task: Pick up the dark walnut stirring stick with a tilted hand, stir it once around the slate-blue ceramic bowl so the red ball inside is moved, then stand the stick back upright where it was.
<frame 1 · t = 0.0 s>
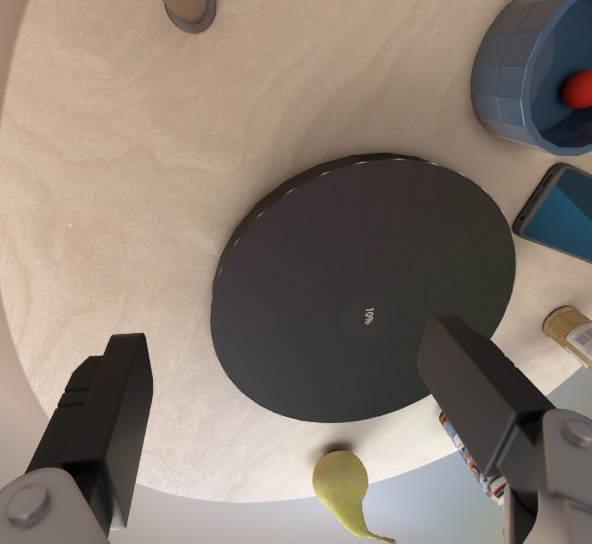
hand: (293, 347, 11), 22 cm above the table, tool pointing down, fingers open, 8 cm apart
red ball: (583, 89, 30), point 2 cm above the table, touching bowl
smartphone: (582, 218, 39), on the table
stick: (191, 4, 24), on the table
fruit: (334, 453, 51), on the table
spice jar: (558, 319, 46), on the table
bowl: (536, 68, 30), on the table
disc: (359, 299, 39), on the table
beverage can: (457, 404, 50), on the table
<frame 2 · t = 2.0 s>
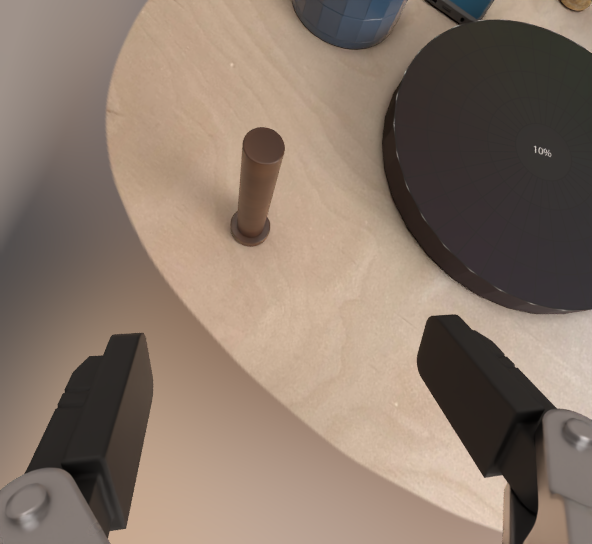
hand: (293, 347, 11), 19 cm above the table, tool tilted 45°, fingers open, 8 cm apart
stick: (249, 228, 31), on the table
bowl: (344, 4, 39), on the table
disc: (519, 167, 38), on the table
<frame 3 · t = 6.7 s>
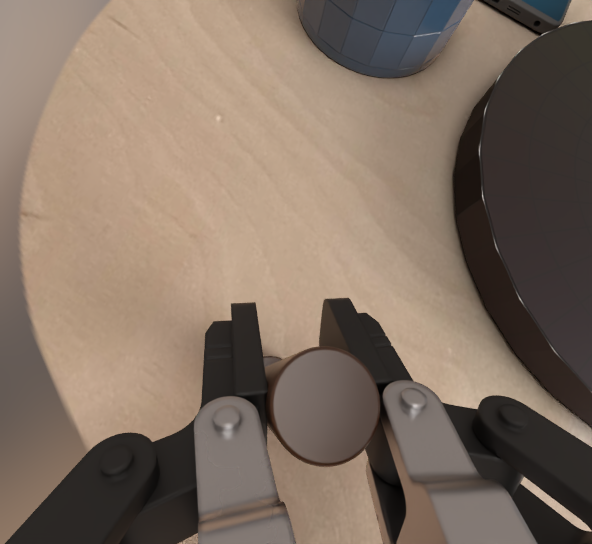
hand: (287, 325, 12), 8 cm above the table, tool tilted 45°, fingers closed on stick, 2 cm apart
stick: (268, 389, 19), on the table, touching gripper
bowl: (373, 14, 27), on the table
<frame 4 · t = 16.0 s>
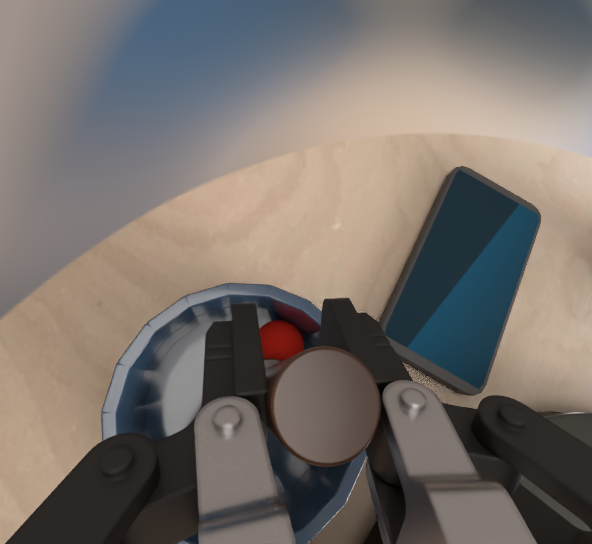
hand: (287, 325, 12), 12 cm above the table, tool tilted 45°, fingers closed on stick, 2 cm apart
red ball: (278, 345, 21), point 2 cm above the table, tilted 16°, touching bowl, stick
smartphone: (459, 273, 26), on the table
stick: (268, 391, 19), point 3 cm above the table, touching gripper, red ball
bowl: (240, 403, 22), on the table
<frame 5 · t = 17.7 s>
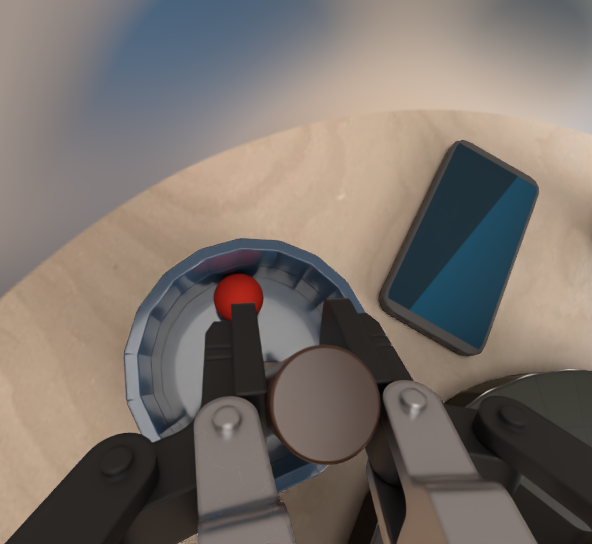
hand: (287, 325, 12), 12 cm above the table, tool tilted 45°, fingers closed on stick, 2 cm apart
red ball: (238, 297, 21), point 2 cm above the table, tilted 107°, touching bowl
smartphone: (459, 242, 27), on the table
stick: (269, 394, 19), point 4 cm above the table, touching gripper
bowl: (250, 361, 23), on the table
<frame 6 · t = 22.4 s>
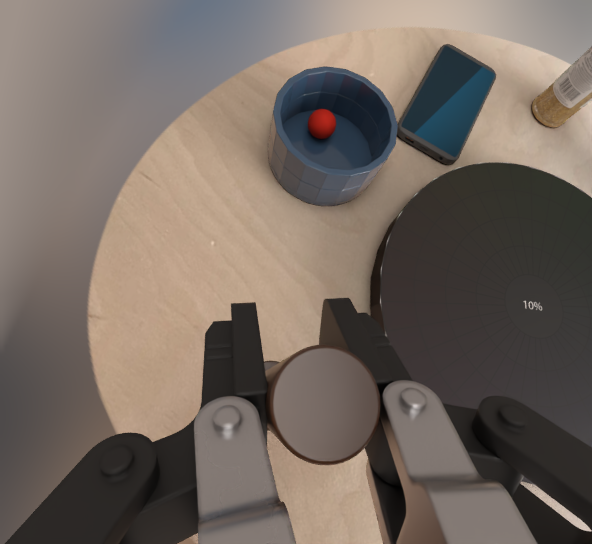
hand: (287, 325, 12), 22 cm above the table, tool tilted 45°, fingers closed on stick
red ball: (321, 124, 37), point 2 cm above the table, tilted 70°, touching bowl
smartphone: (445, 105, 44), on the table
stick: (269, 394, 19), point 13 cm above the table, touching gripper
spice jar: (545, 113, 46), on the table
bowl: (321, 156, 39), on the table
disc: (510, 311, 38), on the table
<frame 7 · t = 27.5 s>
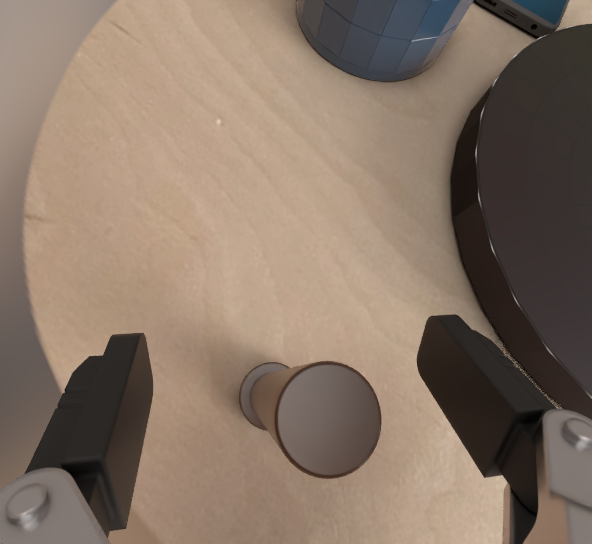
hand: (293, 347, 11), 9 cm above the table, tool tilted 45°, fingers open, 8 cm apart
stick: (270, 395, 19), on the table
bowl: (371, 18, 28), on the table
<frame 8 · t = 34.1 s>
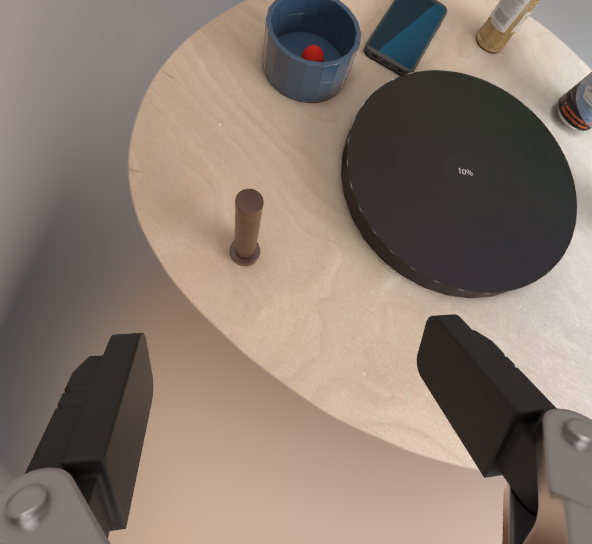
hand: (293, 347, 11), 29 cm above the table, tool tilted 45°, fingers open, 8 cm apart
red ball: (312, 57, 47), point 2 cm above the table, tilted 69°, touching bowl
smartphone: (405, 33, 54), on the table
stick: (244, 252, 41), on the table
spice jar: (488, 42, 57), on the table
bowl: (305, 67, 50), on the table
disc: (452, 184, 48), on the table
beverage can: (570, 117, 55), on the table
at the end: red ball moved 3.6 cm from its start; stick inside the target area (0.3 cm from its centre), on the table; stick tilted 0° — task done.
